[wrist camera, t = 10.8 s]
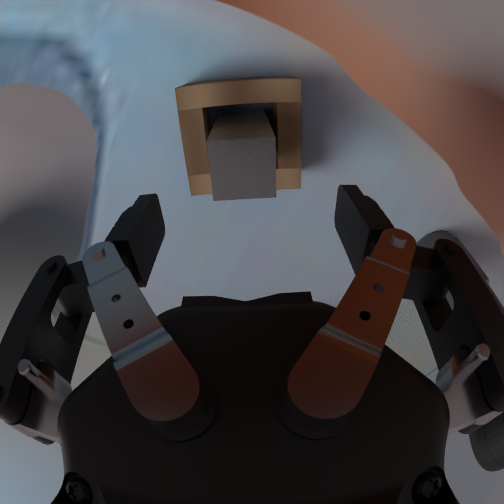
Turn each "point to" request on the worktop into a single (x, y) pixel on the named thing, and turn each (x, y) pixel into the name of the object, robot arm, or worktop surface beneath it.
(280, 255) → the worktop surface
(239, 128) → the peg
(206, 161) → the wooden square frame
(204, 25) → the worktop surface
